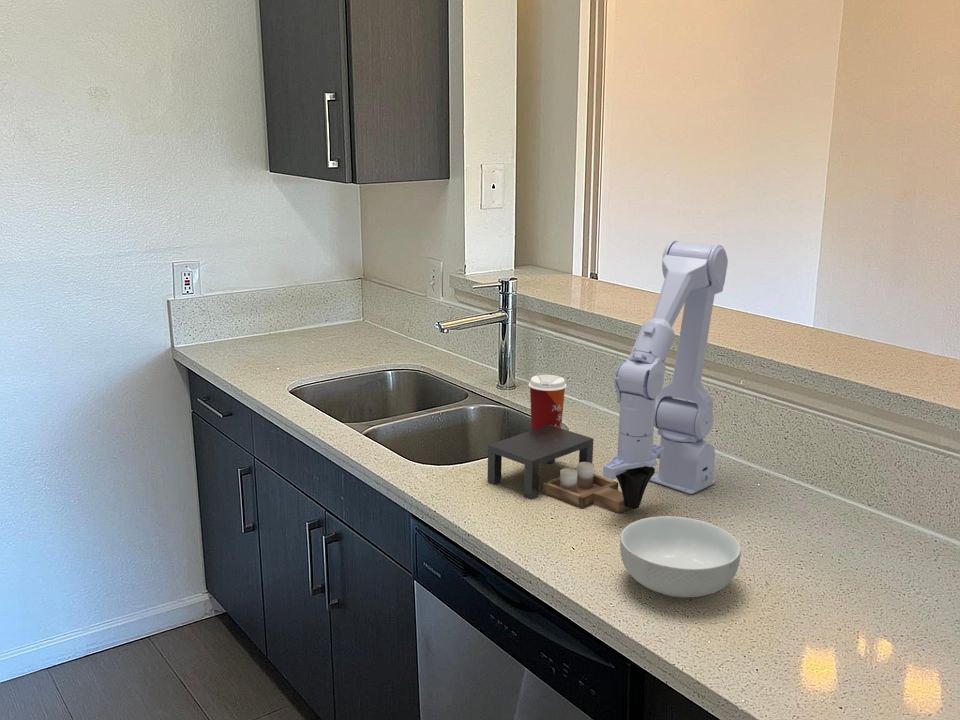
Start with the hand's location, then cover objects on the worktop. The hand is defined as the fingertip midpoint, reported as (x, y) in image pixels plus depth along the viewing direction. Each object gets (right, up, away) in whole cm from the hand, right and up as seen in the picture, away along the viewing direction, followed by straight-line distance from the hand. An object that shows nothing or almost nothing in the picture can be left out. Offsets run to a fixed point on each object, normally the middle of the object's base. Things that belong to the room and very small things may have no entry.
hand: (632, 506), depth 156 cm
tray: (-6, +1, +6) cm, 9 cm away
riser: (-15, +3, +15) cm, 21 cm away
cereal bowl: (+3, -8, -24) cm, 25 cm away
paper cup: (-12, +7, +32) cm, 36 cm away
